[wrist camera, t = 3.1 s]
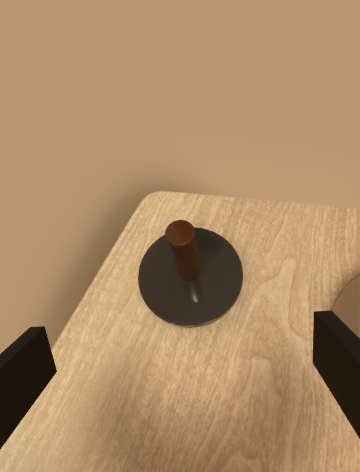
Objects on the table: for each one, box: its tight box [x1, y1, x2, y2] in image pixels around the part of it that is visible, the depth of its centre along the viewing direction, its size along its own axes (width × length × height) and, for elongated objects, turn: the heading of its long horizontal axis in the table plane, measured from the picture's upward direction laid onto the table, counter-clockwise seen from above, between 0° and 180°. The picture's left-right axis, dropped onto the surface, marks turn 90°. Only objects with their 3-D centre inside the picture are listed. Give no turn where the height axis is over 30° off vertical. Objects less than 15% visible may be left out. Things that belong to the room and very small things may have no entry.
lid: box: [138, 220, 243, 327], centre depth 25 cm, size 13×13×10 cm
